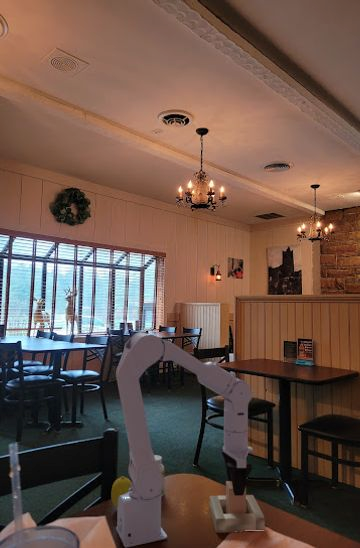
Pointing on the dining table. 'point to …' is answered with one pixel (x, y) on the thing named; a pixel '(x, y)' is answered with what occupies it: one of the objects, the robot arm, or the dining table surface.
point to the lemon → (120, 489)
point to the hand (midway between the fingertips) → (235, 487)
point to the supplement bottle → (160, 469)
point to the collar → (236, 516)
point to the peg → (234, 501)
